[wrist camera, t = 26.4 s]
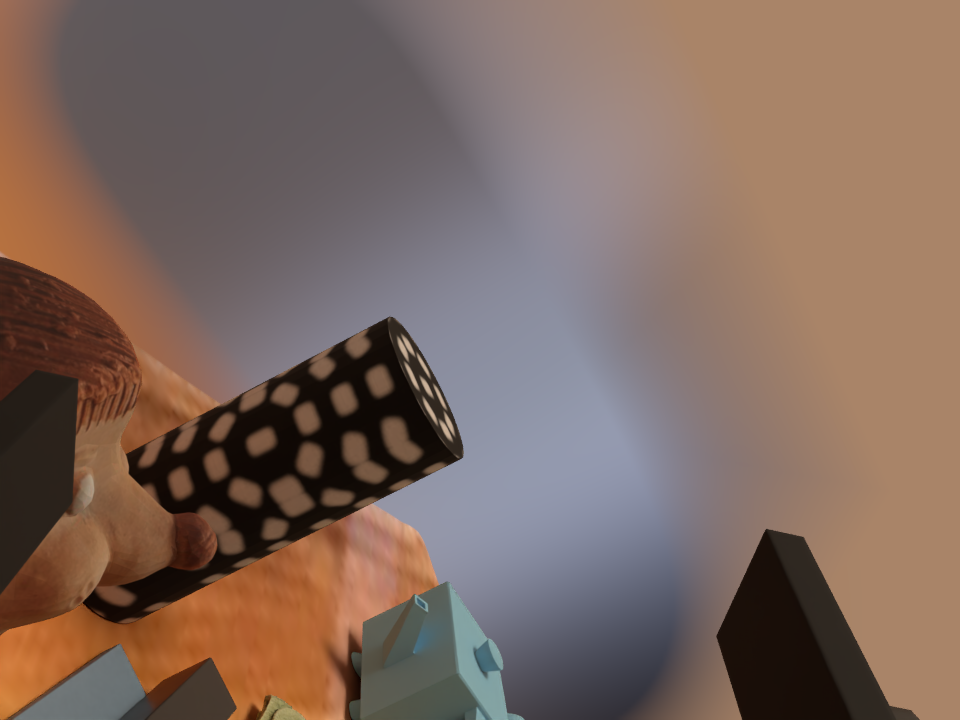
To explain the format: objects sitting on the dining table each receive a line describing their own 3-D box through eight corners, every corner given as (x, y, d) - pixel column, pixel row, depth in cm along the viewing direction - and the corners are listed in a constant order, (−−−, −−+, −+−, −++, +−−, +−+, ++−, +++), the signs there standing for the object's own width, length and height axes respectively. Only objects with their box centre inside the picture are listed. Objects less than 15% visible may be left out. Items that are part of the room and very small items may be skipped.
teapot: (326, 581, 75) (442, 523, 74) (426, 715, 83) (533, 664, 81) (313, 724, 61) (457, 655, 60) (436, 871, 68) (566, 812, 67)
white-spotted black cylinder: (129, 490, 53) (419, 340, 51) (169, 620, 51) (476, 468, 49) (32, 473, 46) (370, 296, 44) (74, 627, 43) (435, 445, 41)
